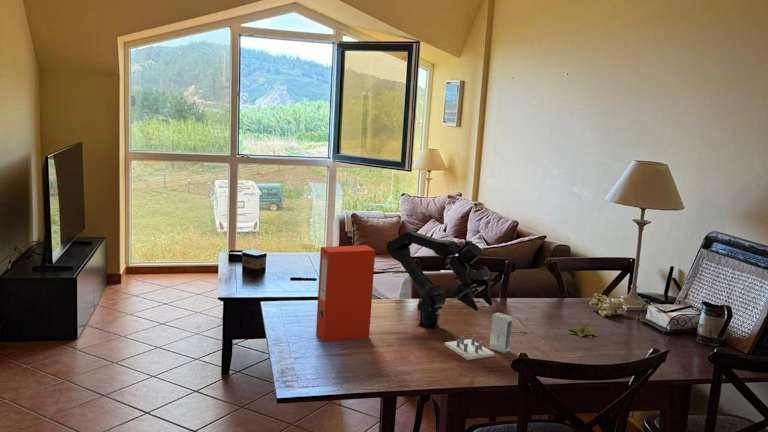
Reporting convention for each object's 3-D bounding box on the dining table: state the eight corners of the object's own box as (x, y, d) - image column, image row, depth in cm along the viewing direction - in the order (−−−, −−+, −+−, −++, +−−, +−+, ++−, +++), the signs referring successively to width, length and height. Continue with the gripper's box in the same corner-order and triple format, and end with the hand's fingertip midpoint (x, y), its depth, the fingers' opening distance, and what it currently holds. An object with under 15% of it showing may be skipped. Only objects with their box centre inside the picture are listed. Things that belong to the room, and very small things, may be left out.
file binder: (369, 337, 237) (375, 250, 232) (324, 342, 229) (329, 252, 224) (360, 330, 244) (365, 244, 239) (315, 334, 236) (320, 246, 231)
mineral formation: (605, 319, 277) (579, 306, 290) (627, 321, 284) (601, 308, 296) (610, 301, 276) (585, 288, 289) (632, 303, 282) (606, 291, 295)
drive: (489, 348, 235) (492, 314, 233) (494, 346, 237) (498, 312, 235) (503, 353, 231) (507, 318, 229) (509, 351, 234) (512, 316, 231)
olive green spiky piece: (563, 335, 255) (564, 324, 254) (570, 327, 266) (571, 316, 265) (595, 342, 250) (596, 330, 249) (601, 333, 260) (602, 322, 260)
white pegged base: (444, 345, 235) (445, 335, 234) (470, 341, 240) (471, 332, 239) (467, 359, 223) (468, 349, 222) (493, 356, 228) (494, 346, 227)
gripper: (461, 262, 230) (485, 301, 225) (490, 255, 244) (513, 291, 239) (441, 279, 237) (464, 317, 232) (470, 271, 251) (493, 307, 246)
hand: (484, 307), depth 237 cm, fingers open, 9 cm apart
